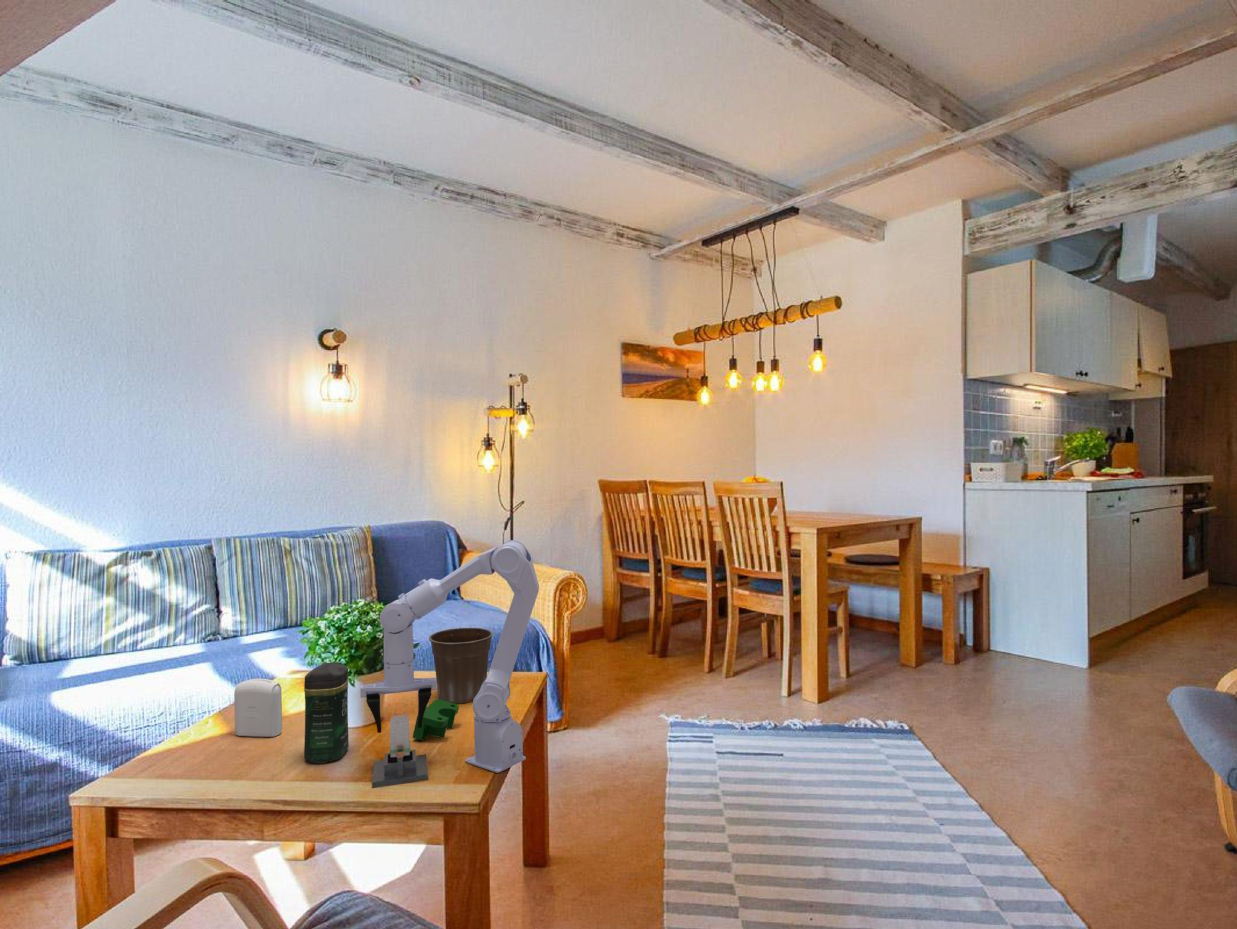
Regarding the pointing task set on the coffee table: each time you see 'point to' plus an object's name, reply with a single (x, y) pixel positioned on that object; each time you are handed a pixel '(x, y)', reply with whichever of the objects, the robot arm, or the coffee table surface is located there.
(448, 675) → the plant pot
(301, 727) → the coffee table surface
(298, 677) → the coffee table surface
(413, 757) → the grey slotted holder
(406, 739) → the pull-out drawer
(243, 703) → the photo printer
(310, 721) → the coffee jar
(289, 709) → the coffee table surface
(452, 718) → the clamp
